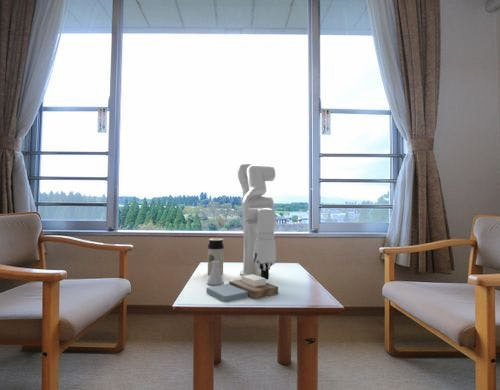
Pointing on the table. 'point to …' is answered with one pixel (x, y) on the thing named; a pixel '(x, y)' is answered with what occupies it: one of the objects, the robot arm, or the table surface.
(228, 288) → the mat
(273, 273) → the table surface
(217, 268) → the flask
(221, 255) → the travel mug
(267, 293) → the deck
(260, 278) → the tile
